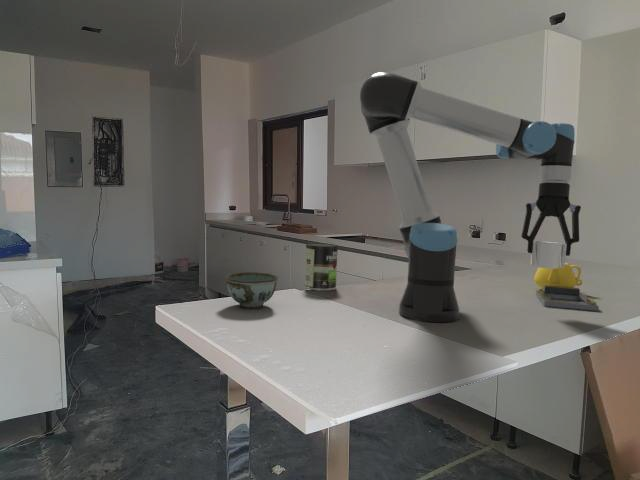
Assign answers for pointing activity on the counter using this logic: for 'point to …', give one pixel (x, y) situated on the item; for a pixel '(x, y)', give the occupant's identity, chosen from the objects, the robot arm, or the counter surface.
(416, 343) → the counter surface
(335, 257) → the coffee can
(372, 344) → the counter surface
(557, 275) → the teapot
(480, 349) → the counter surface
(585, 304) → the chassis plate
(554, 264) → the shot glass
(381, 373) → the counter surface
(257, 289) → the bowl
